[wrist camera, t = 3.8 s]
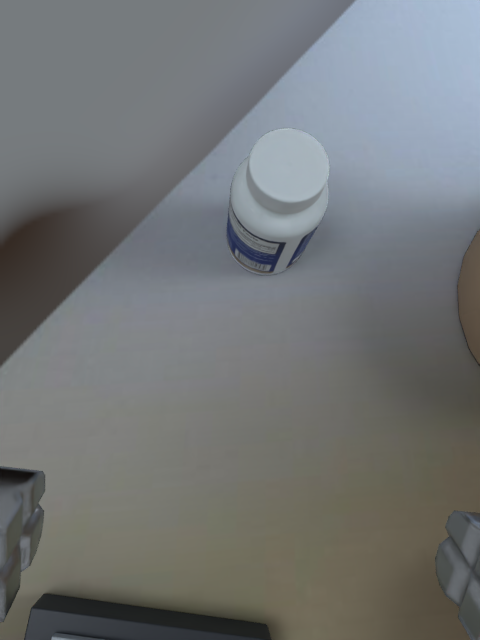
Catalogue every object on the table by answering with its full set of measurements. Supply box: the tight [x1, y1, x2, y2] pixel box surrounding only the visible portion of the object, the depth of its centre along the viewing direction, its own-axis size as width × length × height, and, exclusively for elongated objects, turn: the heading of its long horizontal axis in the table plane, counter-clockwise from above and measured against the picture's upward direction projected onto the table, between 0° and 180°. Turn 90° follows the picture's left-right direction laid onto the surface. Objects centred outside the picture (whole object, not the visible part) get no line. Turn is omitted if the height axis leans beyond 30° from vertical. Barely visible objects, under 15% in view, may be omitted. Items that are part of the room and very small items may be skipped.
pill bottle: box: [227, 128, 330, 275], centre depth 27 cm, size 5×5×10 cm
